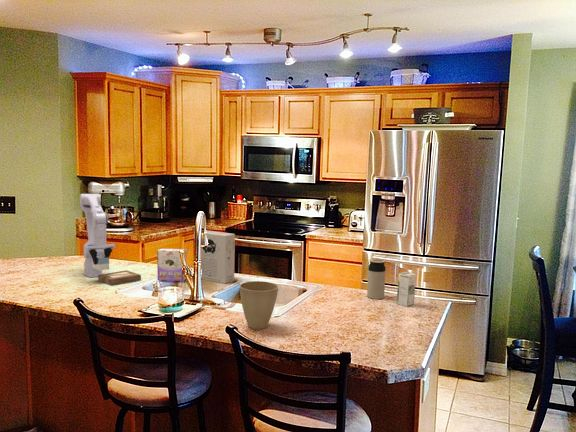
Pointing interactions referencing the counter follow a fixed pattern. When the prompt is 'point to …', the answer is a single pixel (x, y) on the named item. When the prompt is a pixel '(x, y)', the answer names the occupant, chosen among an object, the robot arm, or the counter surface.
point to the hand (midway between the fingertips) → (100, 263)
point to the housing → (101, 263)
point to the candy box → (170, 265)
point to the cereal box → (218, 257)
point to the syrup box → (406, 288)
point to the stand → (119, 277)
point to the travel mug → (376, 279)
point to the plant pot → (258, 302)
